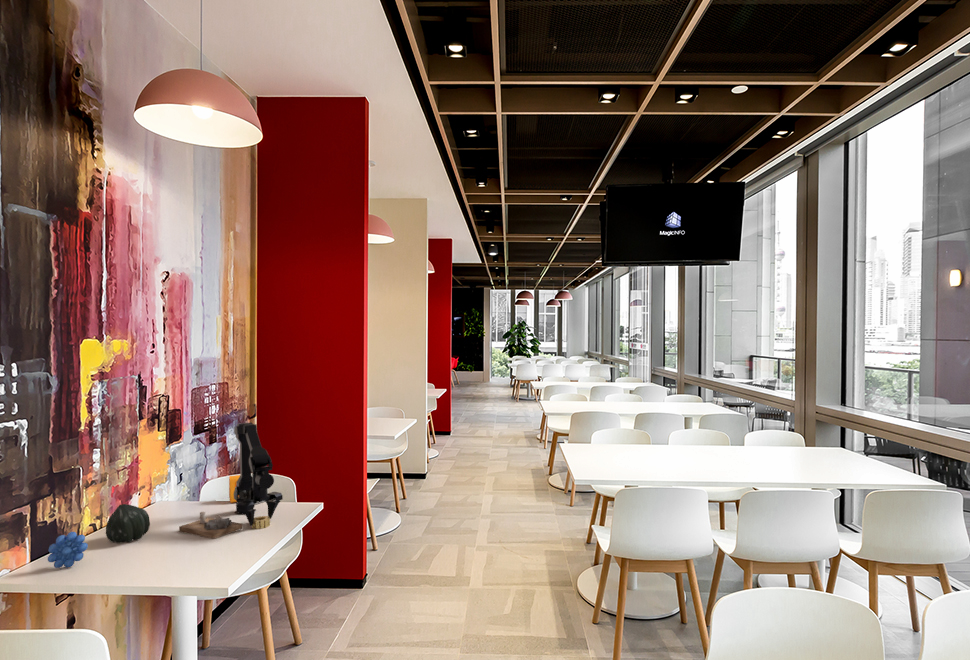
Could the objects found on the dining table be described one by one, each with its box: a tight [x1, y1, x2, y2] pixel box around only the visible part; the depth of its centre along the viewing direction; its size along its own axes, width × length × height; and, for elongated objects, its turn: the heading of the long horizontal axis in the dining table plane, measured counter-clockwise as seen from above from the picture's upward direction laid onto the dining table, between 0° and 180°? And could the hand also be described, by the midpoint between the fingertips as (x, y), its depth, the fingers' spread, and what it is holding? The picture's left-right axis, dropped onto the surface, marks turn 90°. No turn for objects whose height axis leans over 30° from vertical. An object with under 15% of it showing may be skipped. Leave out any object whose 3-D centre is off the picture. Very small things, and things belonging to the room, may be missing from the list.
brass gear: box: [251, 515, 271, 530], centre depth 234 cm, size 7×7×3 cm
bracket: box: [228, 474, 240, 504], centre depth 275 cm, size 11×7×12 cm, turn 27°
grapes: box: [47, 531, 89, 569], centre depth 196 cm, size 12×7×12 cm, turn 108°
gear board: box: [178, 511, 243, 540], centre depth 231 cm, size 13×21×6 cm, turn 62°
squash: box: [105, 503, 151, 544], centre depth 222 cm, size 14×15×15 cm
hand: (260, 522), depth 234 cm, fingers open, 9 cm apart
